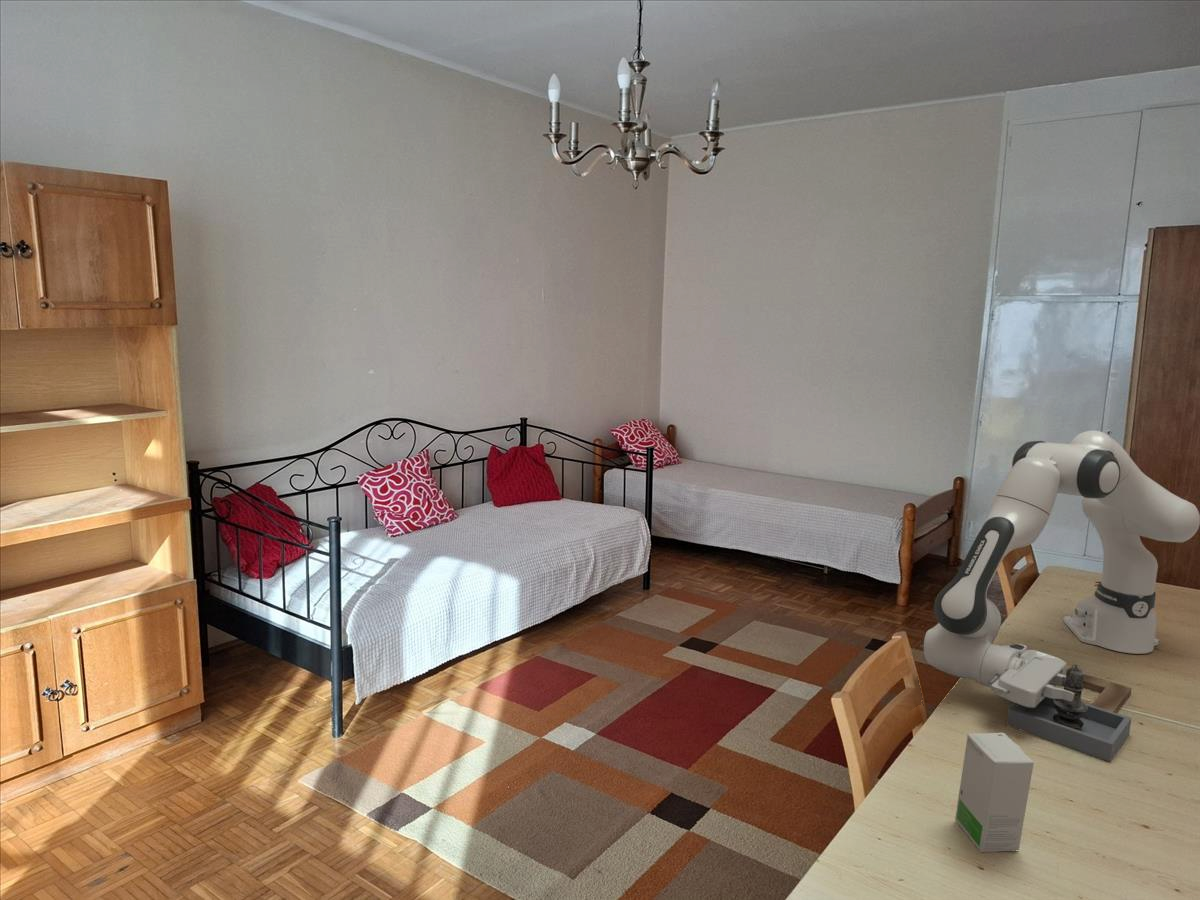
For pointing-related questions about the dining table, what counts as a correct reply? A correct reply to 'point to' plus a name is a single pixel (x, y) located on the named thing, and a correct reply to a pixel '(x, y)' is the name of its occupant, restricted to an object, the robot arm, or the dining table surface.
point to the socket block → (1106, 693)
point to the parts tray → (1093, 738)
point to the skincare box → (993, 791)
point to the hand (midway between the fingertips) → (1077, 692)
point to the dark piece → (1071, 709)
